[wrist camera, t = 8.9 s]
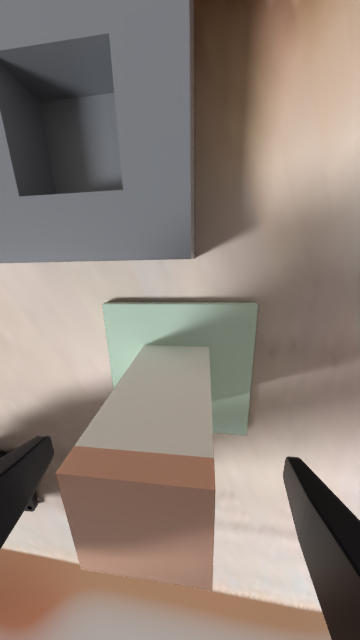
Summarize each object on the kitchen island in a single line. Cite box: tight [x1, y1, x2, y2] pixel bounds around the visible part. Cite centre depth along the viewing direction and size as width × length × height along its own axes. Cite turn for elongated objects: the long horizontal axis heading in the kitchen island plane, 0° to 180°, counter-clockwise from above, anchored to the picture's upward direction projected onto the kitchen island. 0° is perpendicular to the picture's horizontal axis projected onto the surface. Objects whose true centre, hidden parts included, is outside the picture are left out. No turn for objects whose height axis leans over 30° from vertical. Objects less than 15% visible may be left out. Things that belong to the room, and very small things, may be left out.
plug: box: [55, 345, 215, 591], centre depth 9 cm, size 4×4×8 cm
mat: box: [102, 302, 258, 435], centre depth 13 cm, size 9×9×1 cm
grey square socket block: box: [0, 0, 195, 263], centre depth 9 cm, size 10×10×3 cm
